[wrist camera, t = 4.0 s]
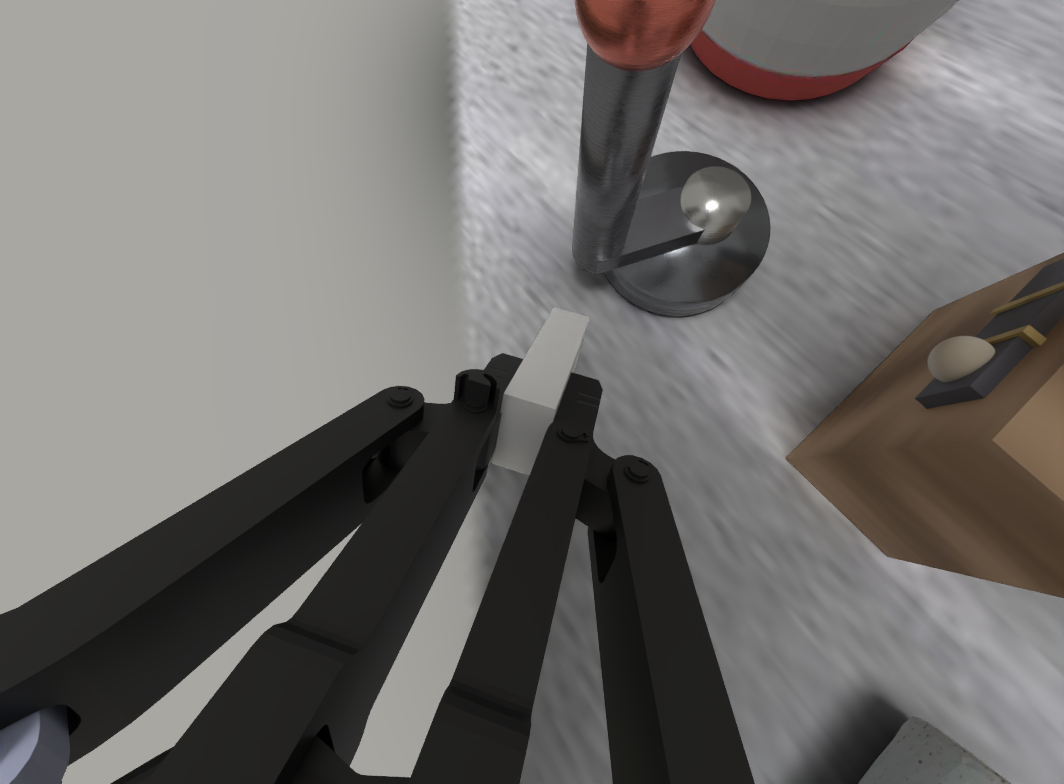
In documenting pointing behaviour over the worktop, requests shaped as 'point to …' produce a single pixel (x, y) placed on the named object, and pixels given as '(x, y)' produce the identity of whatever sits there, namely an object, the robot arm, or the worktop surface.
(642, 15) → the lever with red knob
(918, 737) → the ceramic mug
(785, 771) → the worktop surface
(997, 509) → the walnut stand
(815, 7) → the citrus juicer
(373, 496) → the robot arm
